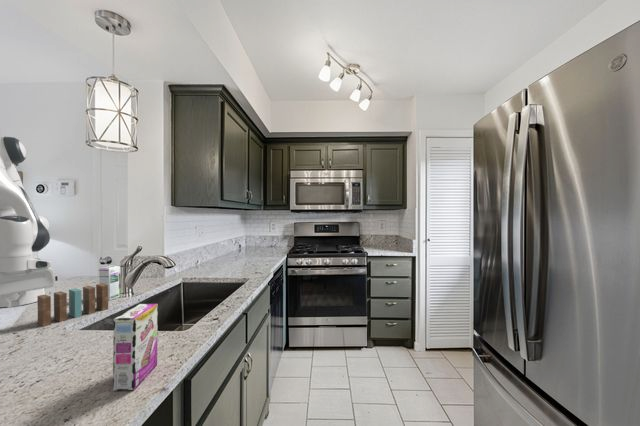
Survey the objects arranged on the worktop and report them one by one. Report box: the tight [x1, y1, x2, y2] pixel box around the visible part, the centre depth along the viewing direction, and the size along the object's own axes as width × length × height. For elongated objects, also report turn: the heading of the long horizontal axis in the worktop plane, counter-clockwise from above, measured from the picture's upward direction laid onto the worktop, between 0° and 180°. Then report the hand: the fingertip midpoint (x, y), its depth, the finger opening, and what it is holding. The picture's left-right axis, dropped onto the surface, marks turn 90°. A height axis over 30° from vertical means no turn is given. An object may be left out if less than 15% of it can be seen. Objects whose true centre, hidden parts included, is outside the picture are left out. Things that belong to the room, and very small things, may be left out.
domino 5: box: [95, 283, 109, 312], centre depth 119 cm, size 2×5×10 cm, turn 61°
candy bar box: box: [112, 303, 159, 392], centre depth 70 cm, size 11×5×16 cm, turn 5°
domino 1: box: [37, 293, 52, 327], centre depth 103 cm, size 2×5×10 cm, turn 61°
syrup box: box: [98, 265, 122, 301], centre depth 133 cm, size 6×6×14 cm
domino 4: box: [82, 285, 96, 315], centre depth 115 cm, size 2×5×10 cm, turn 61°
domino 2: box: [53, 290, 68, 323], centre depth 107 cm, size 2×5×10 cm, turn 61°
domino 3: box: [68, 288, 83, 319], centre depth 111 cm, size 2×5×10 cm, turn 61°
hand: (14, 306), depth 96 cm, fingers closed
